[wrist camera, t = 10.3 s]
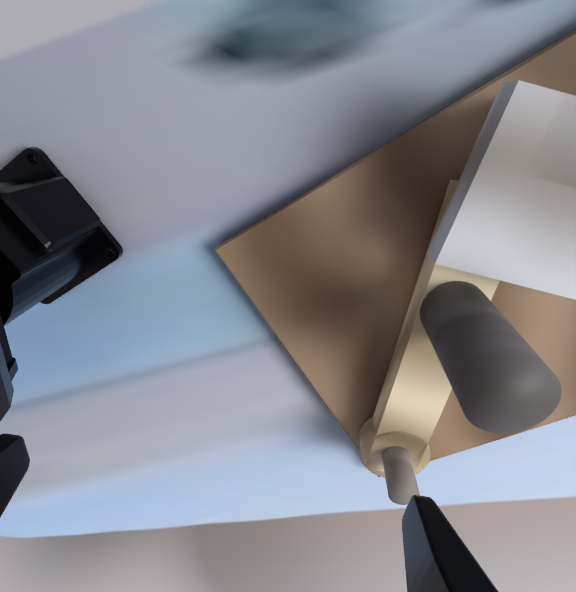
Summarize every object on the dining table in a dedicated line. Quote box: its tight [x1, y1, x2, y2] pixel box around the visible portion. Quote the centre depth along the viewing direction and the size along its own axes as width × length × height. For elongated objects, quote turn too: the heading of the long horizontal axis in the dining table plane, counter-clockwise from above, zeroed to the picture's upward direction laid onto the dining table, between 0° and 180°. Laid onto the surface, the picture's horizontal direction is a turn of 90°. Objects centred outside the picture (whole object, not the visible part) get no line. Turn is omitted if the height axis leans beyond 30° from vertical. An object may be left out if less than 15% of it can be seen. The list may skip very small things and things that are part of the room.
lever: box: [359, 180, 562, 505], centre depth 17 cm, size 18×4×8 cm, turn 173°
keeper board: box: [216, 29, 576, 477], centre depth 18 cm, size 19×19×5 cm
